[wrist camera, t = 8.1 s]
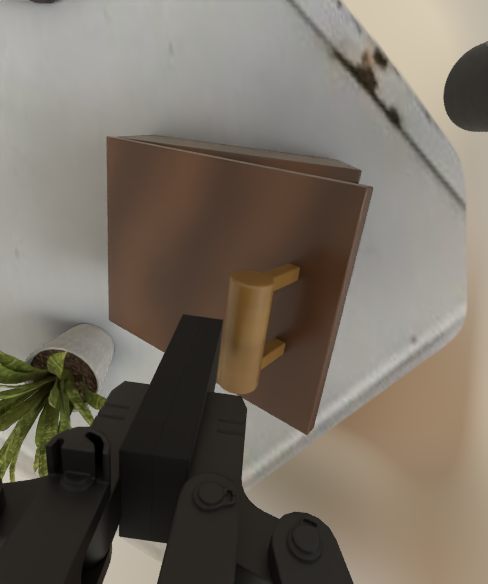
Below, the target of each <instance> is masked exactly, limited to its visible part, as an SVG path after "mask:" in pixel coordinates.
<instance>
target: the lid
mask: <svg viewBox="0 0 488 584" xmlns="http://www.w3.org/2000/svg"><path fill="white" fill-rule="evenodd" d="M372 192H373V187H371V186H366V185H361V184H356V183H351V182H346V181H341V180H335V179H330V178H325V177H320V176H315V175H310V174H304V173H299V172H294V171H289V170H284V169H279V168H273V167H268V166H263V165H258V164H253V163H248V162H243V161H237V160H232V159H227V158H222V157H217V156H212V155H206V154H201V153H196V152H191V151H186V150H181V149H175V148H170V147H165V146H160V145H155V144H150V143H145V142H139V141H134V140H129V139H124V138H119V137H107V205H108V284H109V320H110V321H111V322H113V323H115V324H116V325H118V326H120V327H122V328H123V329H125V330H127V331H129V332H130V333H132V334H134V335H135V336H137V337H139V338H141V339H142V340H144V341H146V342H147V343H149V344H151V345H153V346H154V347H156V348H158V349H159V350H161V351H163V352H165V351H166V349H167V347H168V345H169V343H170V341H171V338H172V336H173V334H174V332H175V330H176V328H177V326H178V323H179V321H180V319H181V317H182V315H183V314H186V315H193V316H200V317H207V318H215V319H222V320H223V327H222V335H221V344H220V353H219V361H218V370H217V378H216V383H218V384H219V385H220V386H221V387H222V388H223V389H224V390H226V391H228V392H230V393H234V394H237V395H239V396H241V397H242V398H244V399H245V400H247V401H249V402H251V403H252V404H254V405H256V406H258V407H259V408H261V409H263V410H264V411H266V412H268V413H270V414H271V415H273V416H275V417H276V418H278V419H280V420H282V421H283V422H285V423H287V424H288V425H290V426H292V427H294V428H295V429H297V430H299V431H300V432H302V433H304V434H306V435H308V434H309V432H310V431H311V430H312V429H313V428H314V424H315V420H316V416H317V412H318V408H319V404H320V400H321V396H322V392H323V388H324V384H325V380H326V376H327V372H328V368H329V364H330V360H331V356H332V352H333V348H334V344H335V340H336V336H337V332H338V328H339V324H340V320H341V316H342V312H343V308H344V304H345V300H346V296H347V292H348V288H349V284H350V280H351V276H352V272H353V268H354V264H355V260H356V256H357V252H358V248H359V244H360V240H361V236H362V232H363V228H364V224H365V220H366V216H367V212H368V208H369V204H370V200H371V196H372Z"/></svg>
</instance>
